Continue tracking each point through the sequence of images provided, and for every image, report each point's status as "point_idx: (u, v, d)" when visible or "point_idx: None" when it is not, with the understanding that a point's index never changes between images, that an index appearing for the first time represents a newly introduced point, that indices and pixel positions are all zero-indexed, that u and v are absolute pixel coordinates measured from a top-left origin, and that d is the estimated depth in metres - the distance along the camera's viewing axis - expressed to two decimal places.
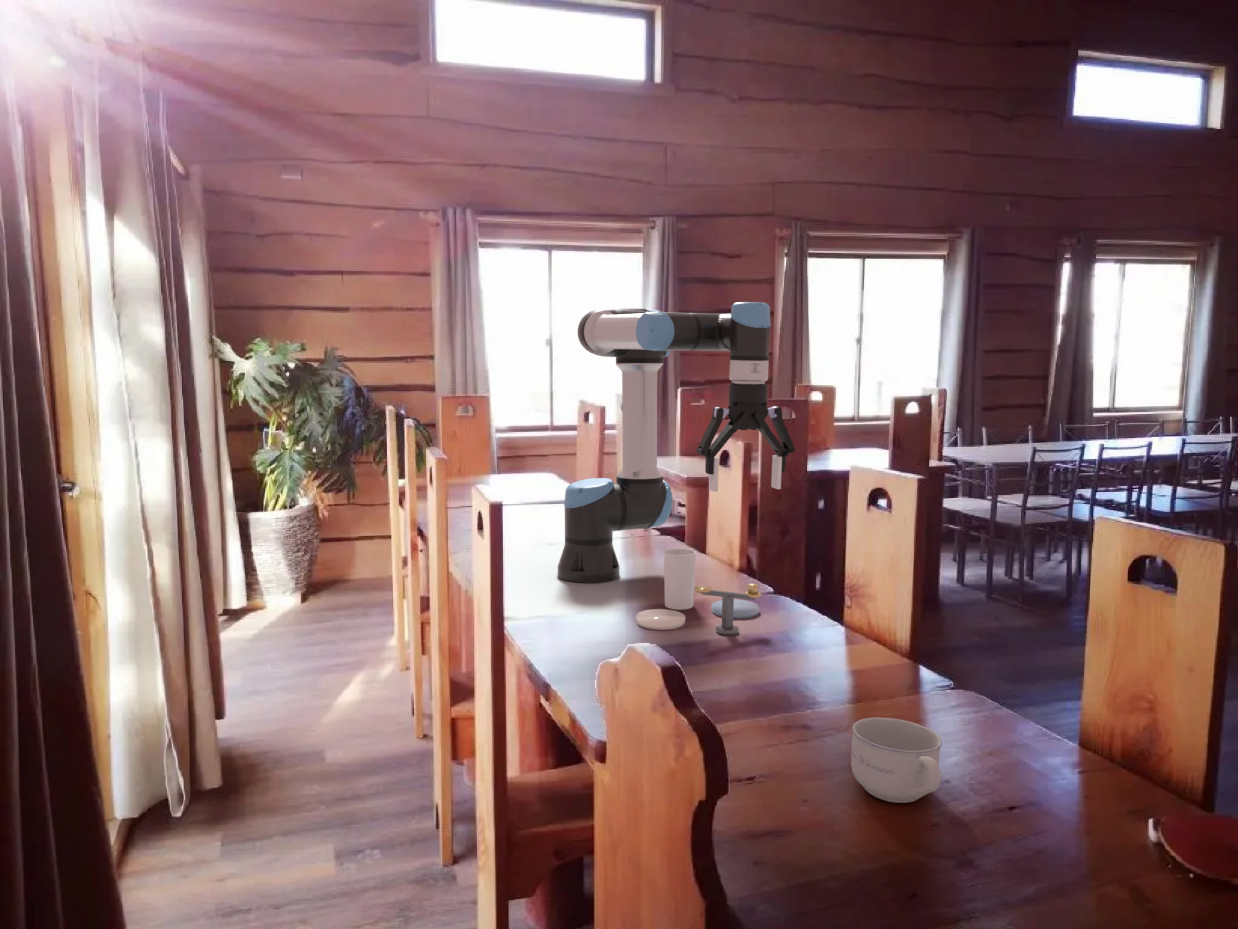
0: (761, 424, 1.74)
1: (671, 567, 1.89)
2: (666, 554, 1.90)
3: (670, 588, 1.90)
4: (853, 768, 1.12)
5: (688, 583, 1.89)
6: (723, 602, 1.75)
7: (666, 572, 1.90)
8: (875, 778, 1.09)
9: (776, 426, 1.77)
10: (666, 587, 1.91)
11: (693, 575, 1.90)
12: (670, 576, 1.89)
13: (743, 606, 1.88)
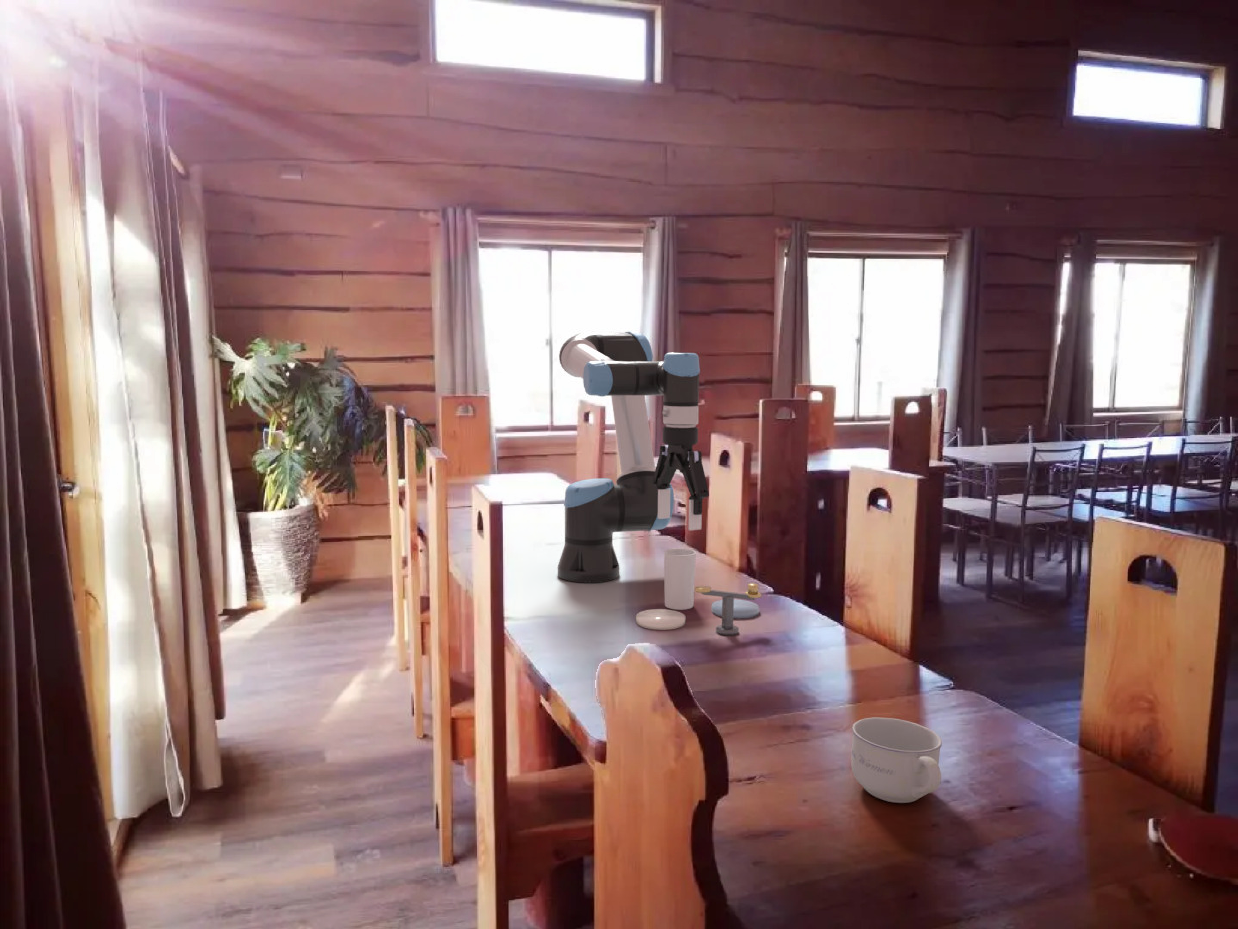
0: (678, 465, 1.87)
1: (671, 567, 1.89)
2: (666, 554, 1.90)
3: (670, 588, 1.90)
4: (853, 768, 1.12)
5: (688, 583, 1.89)
6: (723, 602, 1.75)
7: (666, 572, 1.90)
8: (875, 778, 1.09)
9: None
10: (666, 587, 1.91)
11: (693, 575, 1.90)
12: (670, 576, 1.89)
13: (743, 606, 1.88)
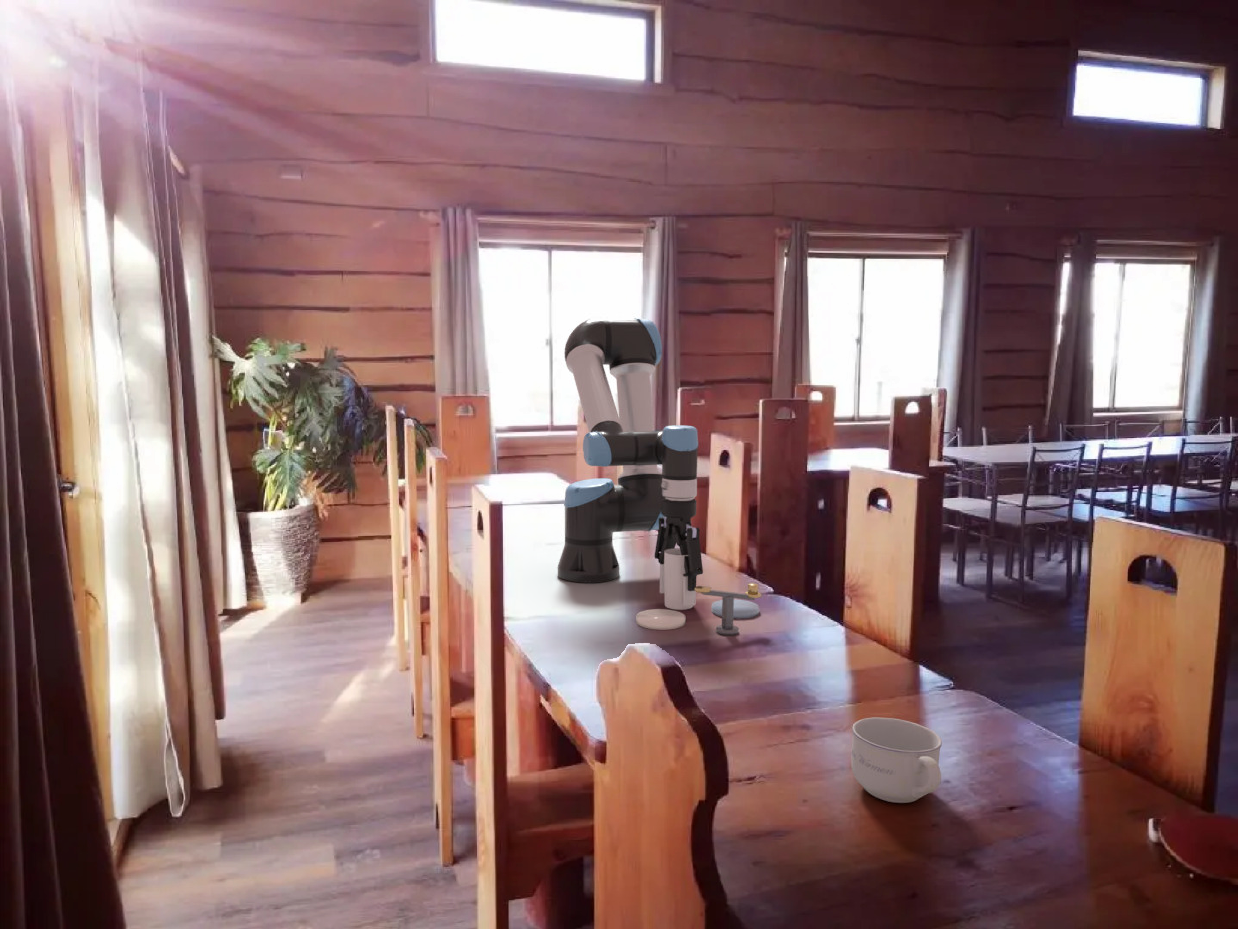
0: (675, 538, 1.90)
1: (671, 567, 1.89)
2: (666, 554, 1.90)
3: (670, 588, 1.90)
4: (853, 768, 1.12)
5: None
6: (723, 602, 1.75)
7: (666, 572, 1.90)
8: (875, 778, 1.09)
9: None
10: (666, 587, 1.91)
11: None
12: (670, 576, 1.89)
13: (743, 606, 1.88)
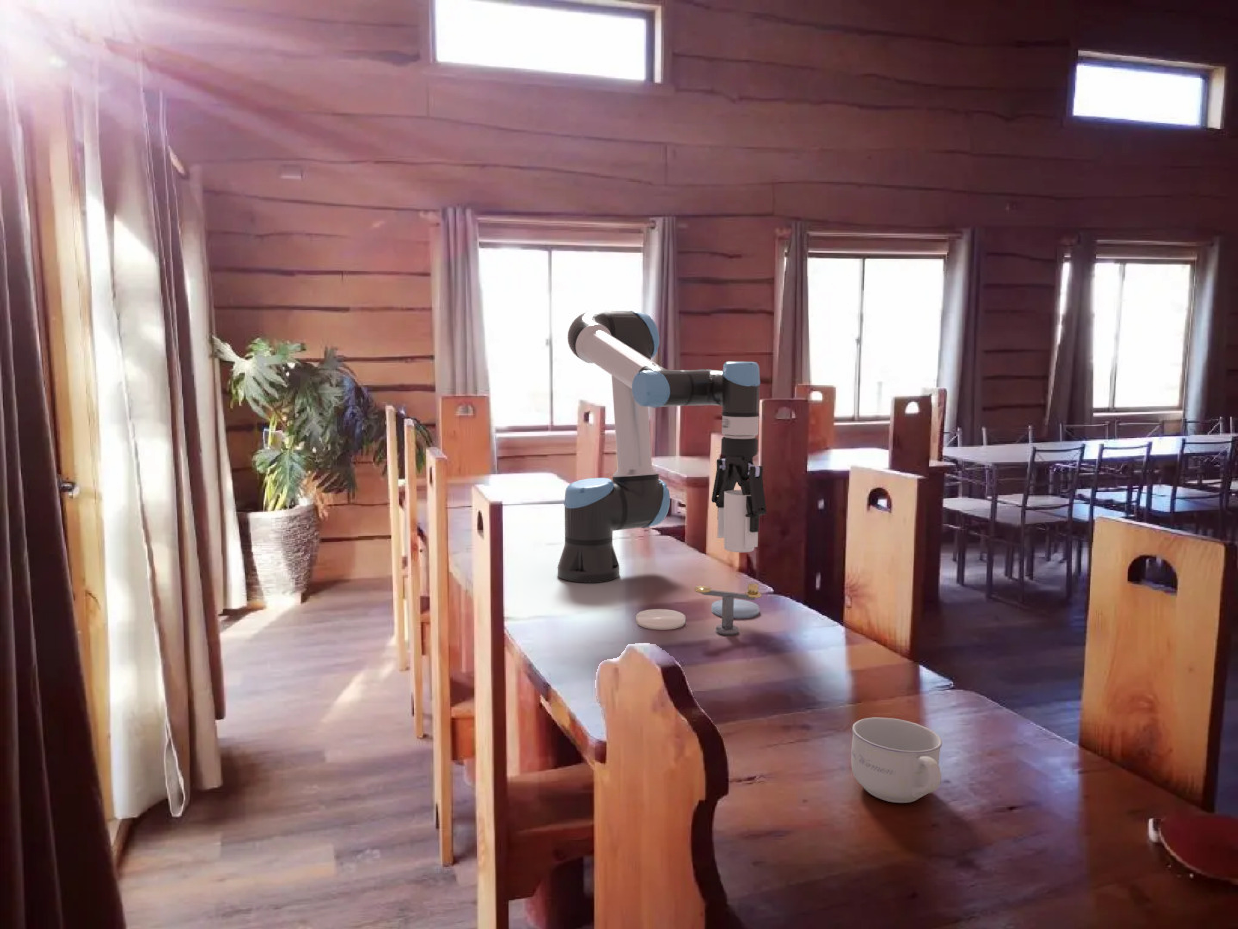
0: (736, 477, 1.83)
1: (732, 507, 1.82)
2: (726, 494, 1.83)
3: (731, 530, 1.83)
4: (853, 768, 1.12)
5: None
6: (723, 602, 1.75)
7: (726, 513, 1.83)
8: (875, 778, 1.09)
9: None
10: (726, 529, 1.84)
11: None
12: (731, 517, 1.82)
13: (743, 606, 1.88)
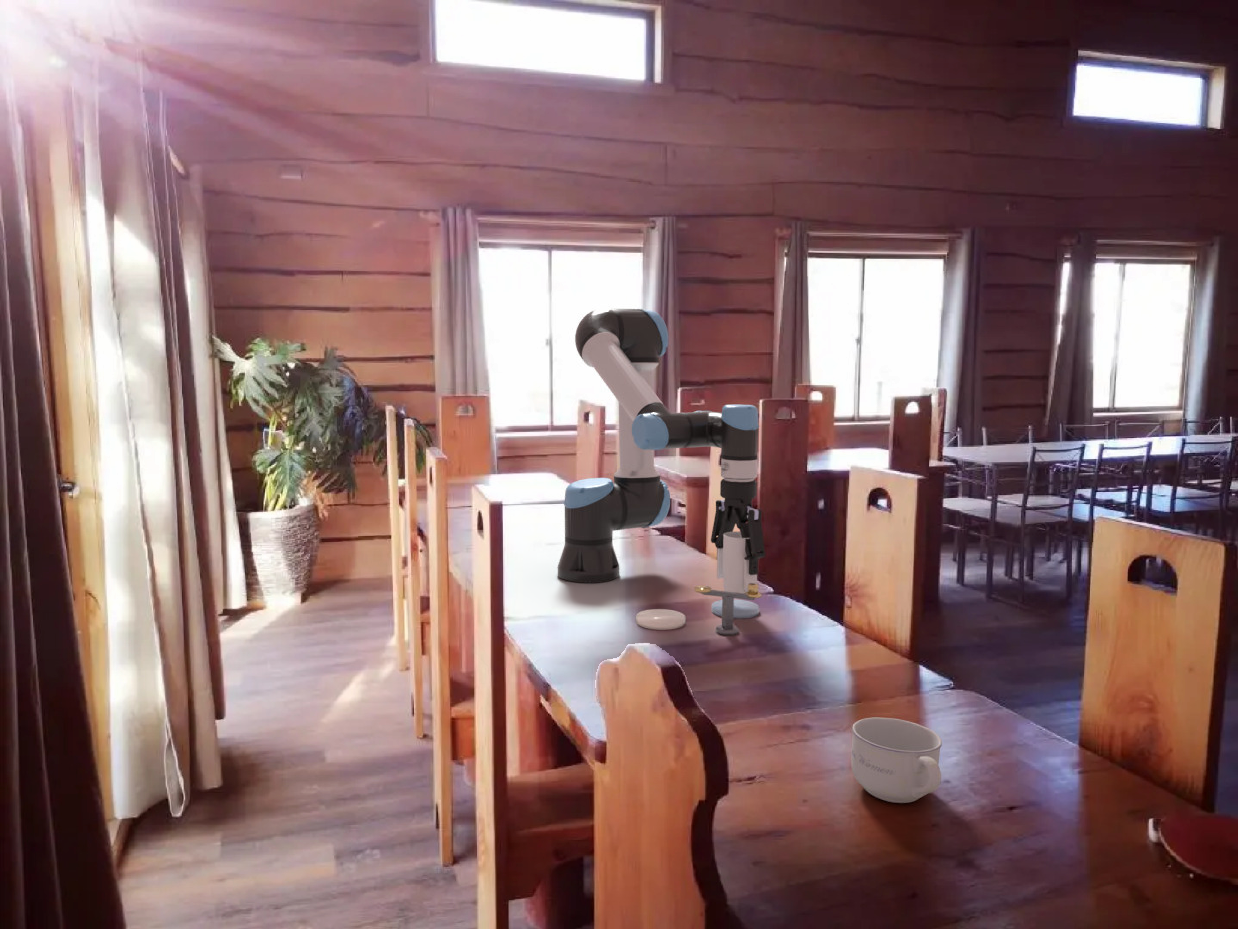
0: (736, 520, 1.84)
1: (731, 550, 1.83)
2: (726, 537, 1.84)
3: (730, 572, 1.84)
4: (853, 768, 1.12)
5: None
6: (723, 602, 1.75)
7: (726, 556, 1.84)
8: (875, 778, 1.09)
9: None
10: (725, 571, 1.85)
11: None
12: (730, 560, 1.83)
13: (743, 606, 1.88)
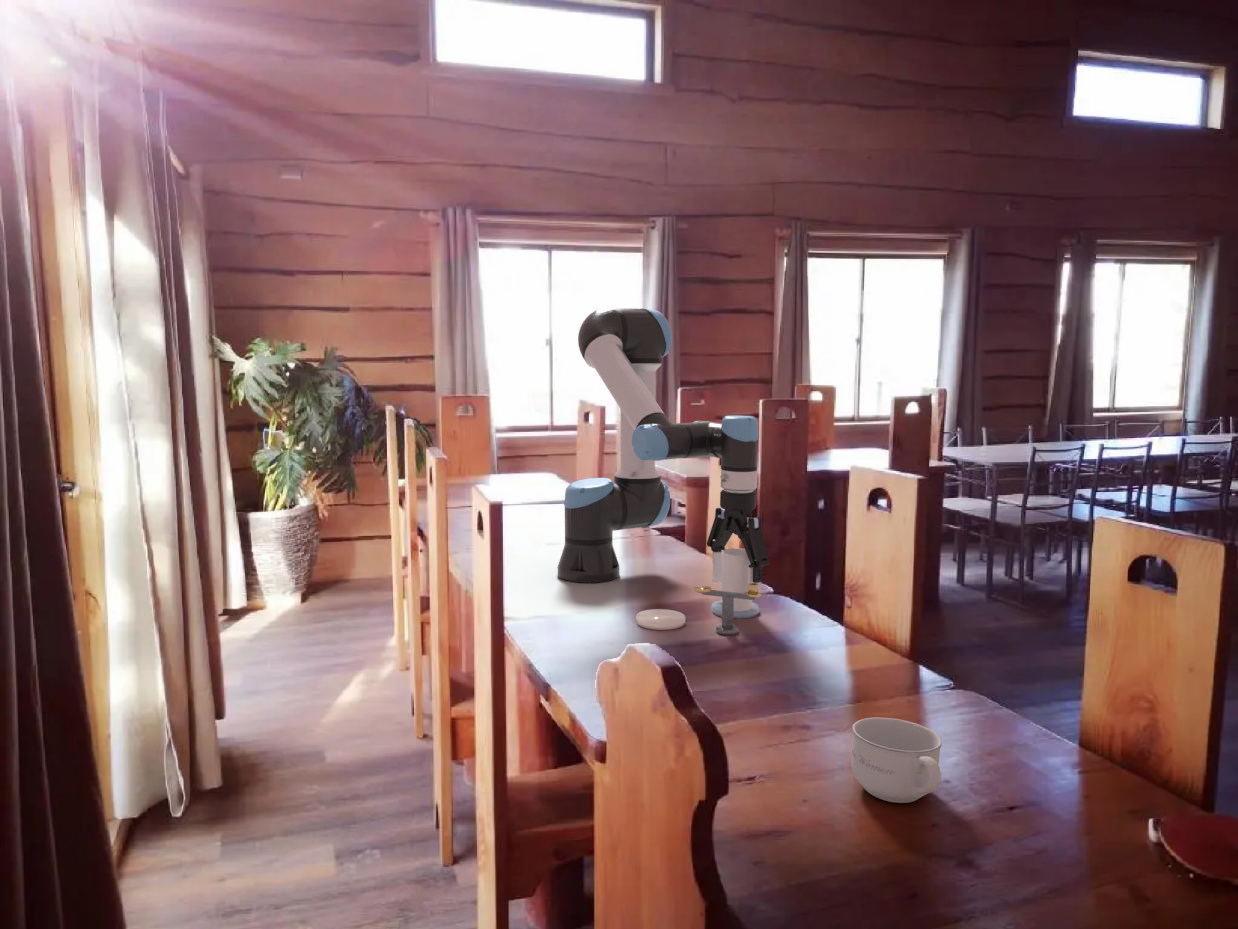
0: (736, 531, 1.84)
1: (730, 567, 1.84)
2: (724, 554, 1.85)
3: (729, 589, 1.85)
4: (853, 768, 1.12)
5: (747, 584, 1.84)
6: (723, 602, 1.75)
7: (724, 573, 1.85)
8: (875, 778, 1.09)
9: None
10: (724, 589, 1.86)
11: None
12: (729, 577, 1.84)
13: None
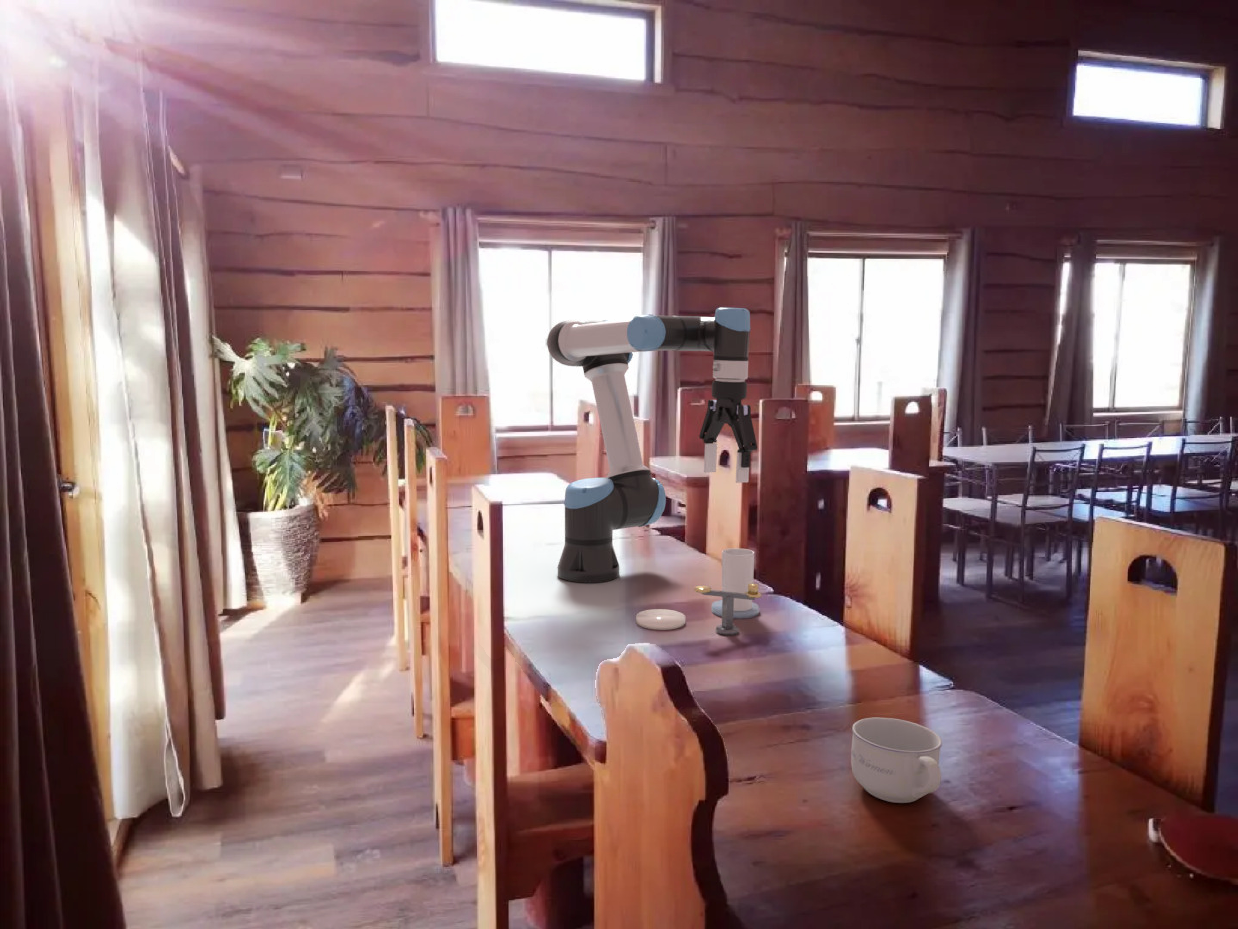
0: (726, 419, 1.91)
1: (730, 567, 1.84)
2: (724, 554, 1.85)
3: (729, 589, 1.85)
4: (853, 768, 1.12)
5: (747, 584, 1.84)
6: (723, 602, 1.75)
7: (724, 573, 1.85)
8: (875, 778, 1.09)
9: None
10: (724, 588, 1.86)
11: (752, 576, 1.85)
12: (729, 577, 1.84)
13: None
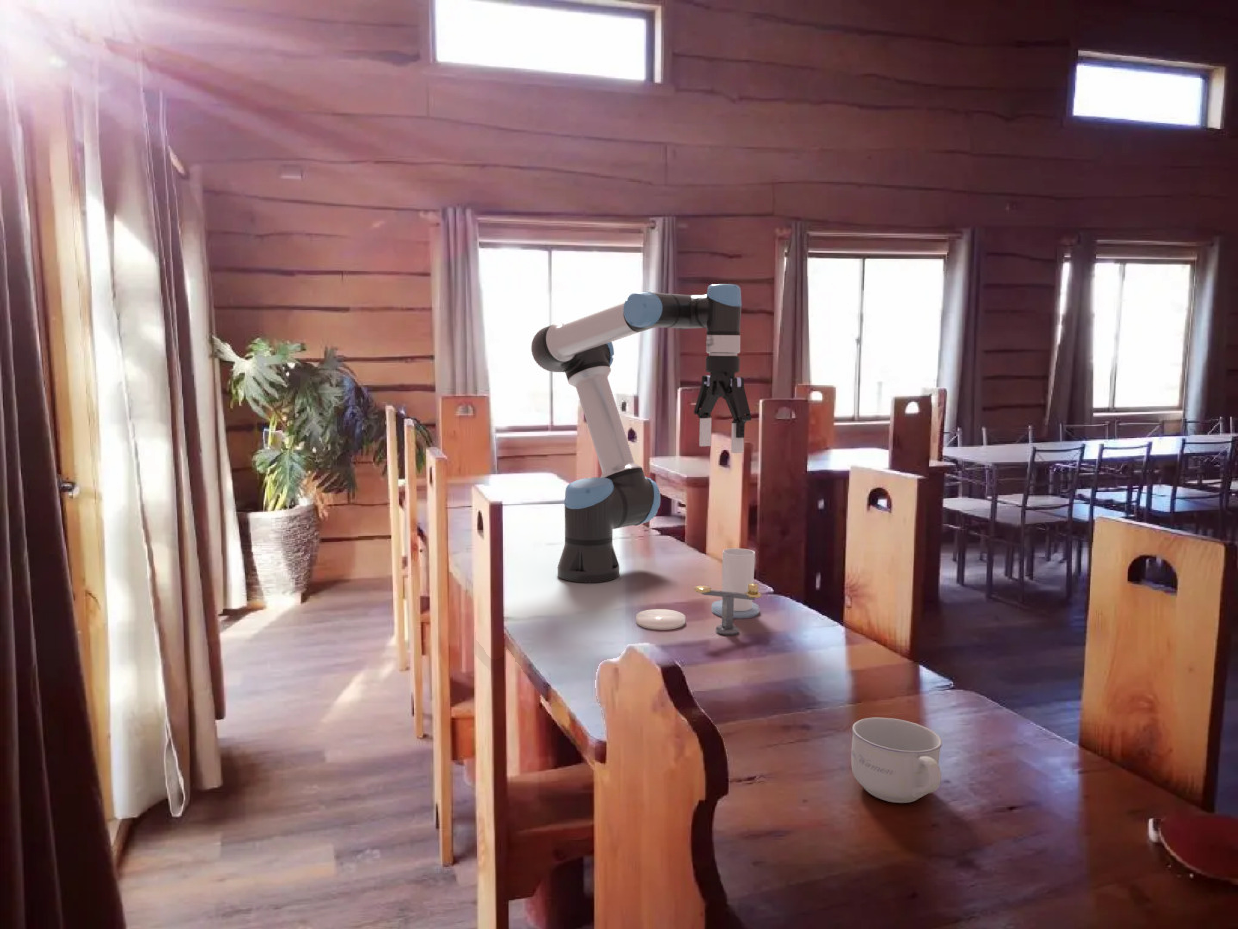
0: (721, 392, 1.97)
1: (730, 567, 1.84)
2: (725, 554, 1.85)
3: (729, 589, 1.85)
4: (853, 768, 1.12)
5: None
6: (723, 602, 1.75)
7: (725, 572, 1.85)
8: (875, 778, 1.09)
9: None
10: (724, 588, 1.86)
11: (752, 576, 1.85)
12: (729, 577, 1.84)
13: None
